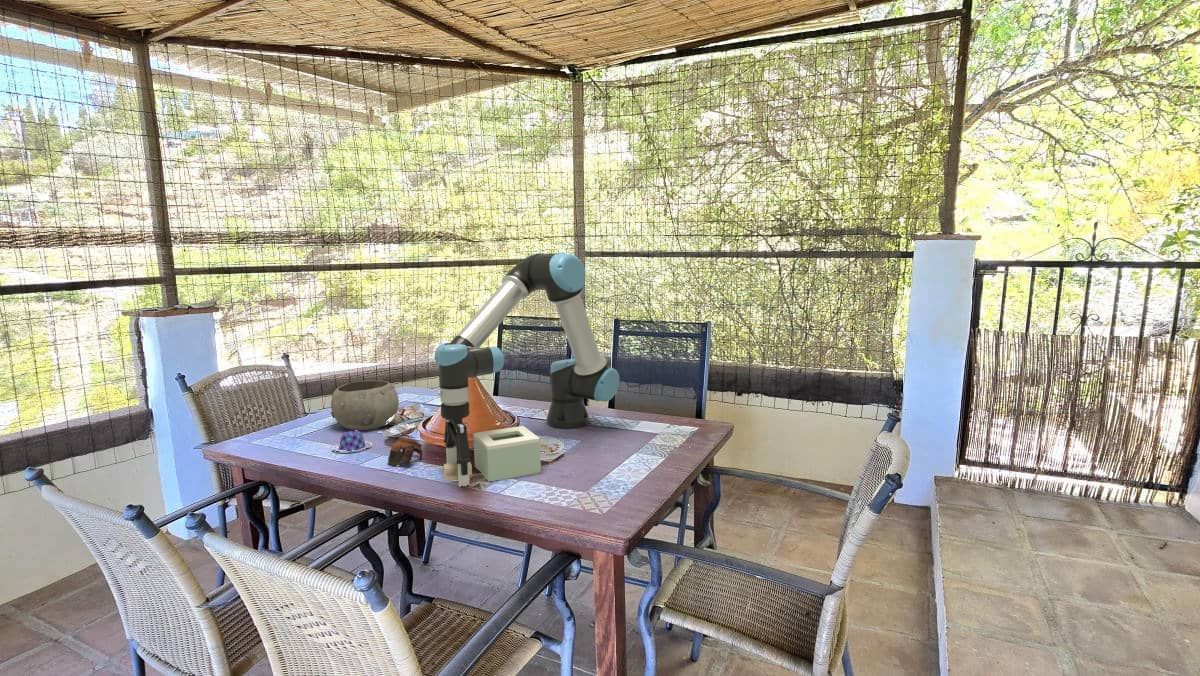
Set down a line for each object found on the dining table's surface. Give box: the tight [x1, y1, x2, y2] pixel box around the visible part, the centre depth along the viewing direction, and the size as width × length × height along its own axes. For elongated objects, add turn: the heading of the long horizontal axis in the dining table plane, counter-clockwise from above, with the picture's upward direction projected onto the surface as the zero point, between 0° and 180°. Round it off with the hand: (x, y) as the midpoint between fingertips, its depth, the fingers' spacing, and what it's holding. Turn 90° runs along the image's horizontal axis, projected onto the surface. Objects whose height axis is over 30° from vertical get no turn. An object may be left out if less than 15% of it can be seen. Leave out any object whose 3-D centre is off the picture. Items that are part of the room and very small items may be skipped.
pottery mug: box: [387, 437, 423, 466], centre depth 180 cm, size 12×10×8 cm
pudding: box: [332, 430, 373, 454], centre depth 195 cm, size 12×12×5 cm
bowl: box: [330, 379, 400, 431], centre depth 220 cm, size 23×23×15 cm
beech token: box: [443, 462, 473, 482], centre depth 167 cm, size 7×4×4 cm, turn 110°
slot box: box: [472, 425, 542, 483], centre depth 173 cm, size 15×14×10 cm
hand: (457, 477), depth 167 cm, fingers open, 13 cm apart
